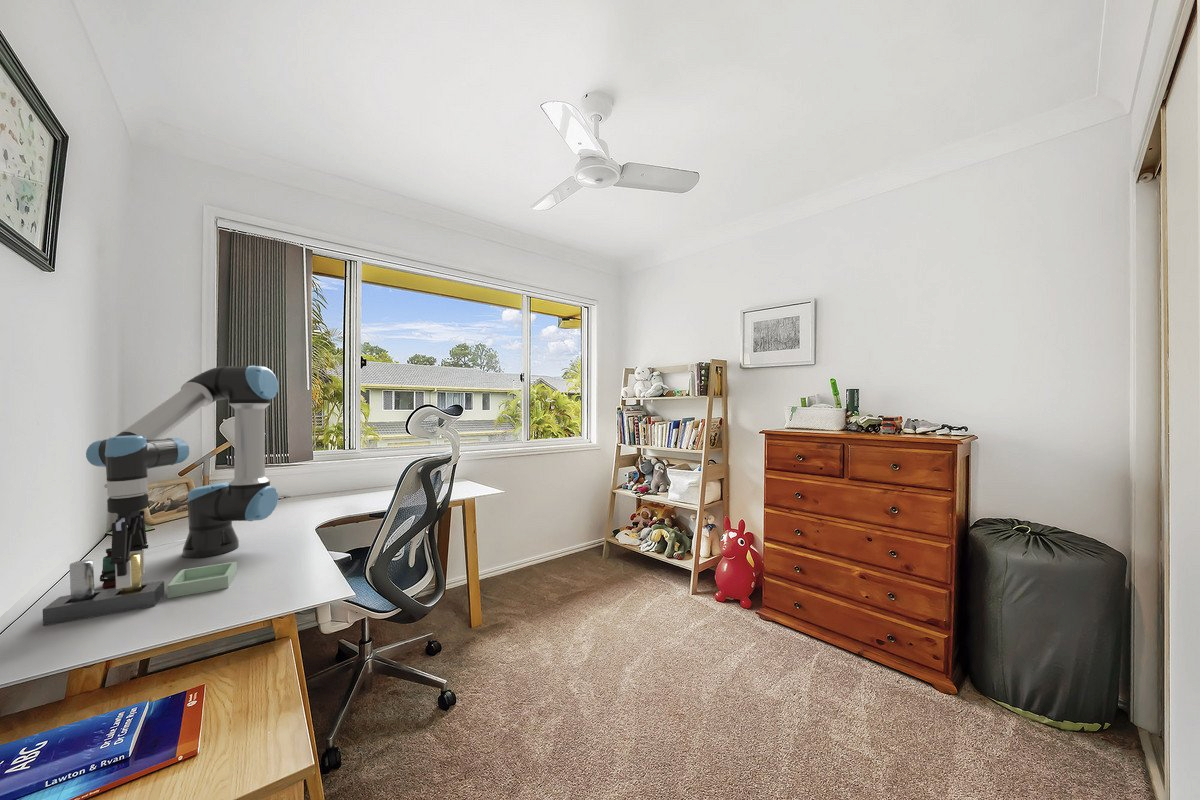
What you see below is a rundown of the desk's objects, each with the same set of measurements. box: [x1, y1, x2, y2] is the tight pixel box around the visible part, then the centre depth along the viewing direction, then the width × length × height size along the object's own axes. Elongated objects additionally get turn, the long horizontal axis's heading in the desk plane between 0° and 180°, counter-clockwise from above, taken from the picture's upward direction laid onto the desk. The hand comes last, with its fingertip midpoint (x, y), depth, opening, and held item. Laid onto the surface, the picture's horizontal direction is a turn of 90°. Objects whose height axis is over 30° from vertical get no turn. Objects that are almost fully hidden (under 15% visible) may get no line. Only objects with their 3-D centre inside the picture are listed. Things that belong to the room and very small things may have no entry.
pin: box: [69, 559, 95, 603], centre depth 118 cm, size 4×4×13 cm
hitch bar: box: [42, 579, 166, 627], centre depth 120 cm, size 8×20×4 cm, turn 119°
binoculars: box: [99, 547, 134, 590], centre depth 136 cm, size 9×11×10 cm
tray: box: [166, 561, 238, 599], centre depth 135 cm, size 13×13×3 cm
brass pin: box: [120, 553, 143, 595], centre depth 123 cm, size 4×4×13 cm
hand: (131, 580), depth 123 cm, fingers open, 9 cm apart
